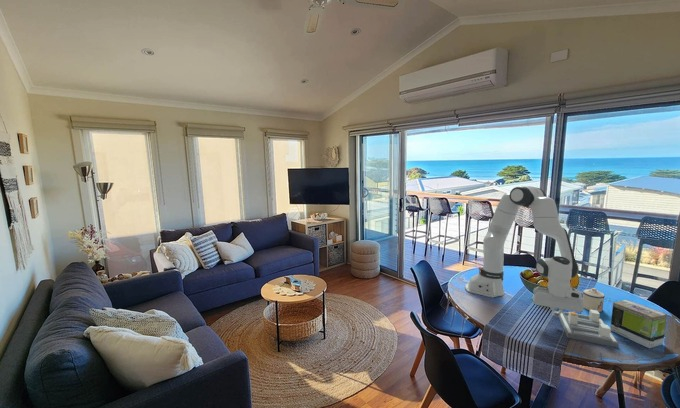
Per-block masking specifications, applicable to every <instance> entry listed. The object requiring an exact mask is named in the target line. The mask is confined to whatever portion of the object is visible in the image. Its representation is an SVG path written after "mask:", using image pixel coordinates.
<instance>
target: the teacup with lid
mask: <svg viewBox="0 0 680 408" xmlns="http://www.w3.org/2000/svg"><path fill="white" fill-rule="evenodd" d="M605 297H606V296H605V294H604V293H603V292H601V291H599V290H598V289H597V288H595V287H591V288H589V289H584V290H582V300H583V304H584V310H586V311H589V312H590V309H591V310H597V311H598V312H599V313H602V311H603V308H604V302H605V301H604V300H605Z"/></svg>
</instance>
